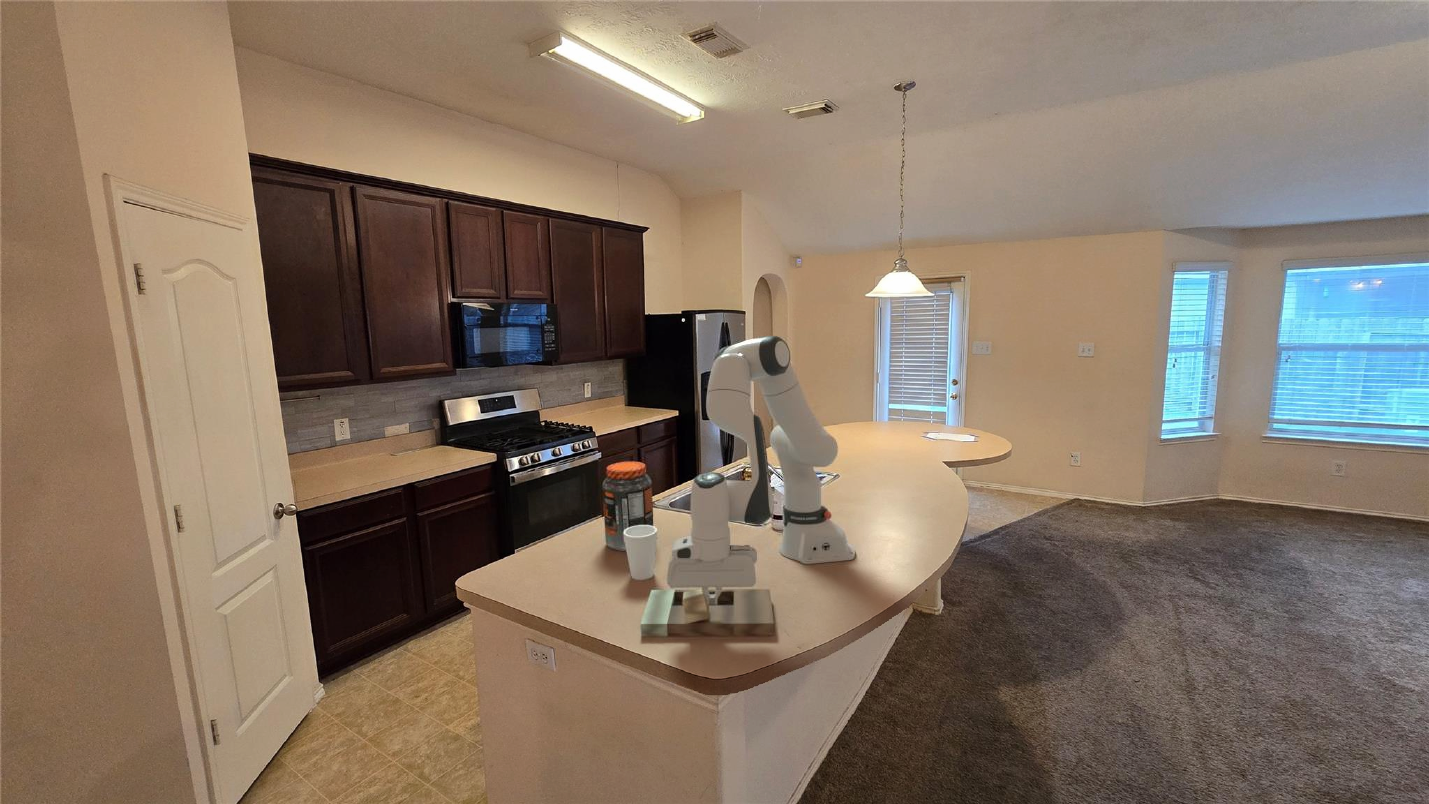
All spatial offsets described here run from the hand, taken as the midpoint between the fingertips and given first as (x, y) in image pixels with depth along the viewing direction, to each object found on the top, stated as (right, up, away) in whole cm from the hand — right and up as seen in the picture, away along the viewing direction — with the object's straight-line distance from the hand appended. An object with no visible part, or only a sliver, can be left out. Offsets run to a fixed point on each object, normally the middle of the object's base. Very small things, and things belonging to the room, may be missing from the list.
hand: (712, 603), depth 125 cm
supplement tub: (-27, 0, +52) cm, 59 cm away
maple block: (-3, -3, 0) cm, 4 cm away
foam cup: (-20, -3, +29) cm, 36 cm away
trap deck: (-1, -5, +6) cm, 8 cm away
